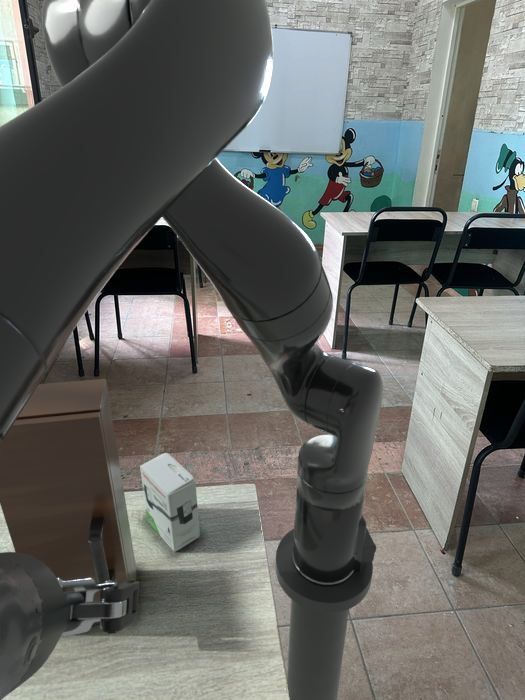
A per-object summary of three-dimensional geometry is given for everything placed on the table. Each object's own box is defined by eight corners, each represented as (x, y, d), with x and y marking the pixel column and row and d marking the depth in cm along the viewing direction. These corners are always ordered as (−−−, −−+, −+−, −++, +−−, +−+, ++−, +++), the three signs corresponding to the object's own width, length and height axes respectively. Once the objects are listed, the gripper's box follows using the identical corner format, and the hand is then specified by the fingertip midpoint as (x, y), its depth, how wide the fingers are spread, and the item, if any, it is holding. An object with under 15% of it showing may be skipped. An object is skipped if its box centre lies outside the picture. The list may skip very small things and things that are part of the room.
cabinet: (134, 610, 64) (100, 409, 50) (43, 625, 62) (-20, 420, 48) (136, 569, 70) (106, 378, 55) (53, 582, 68) (-1, 387, 53)
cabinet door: (132, 646, 60) (94, 438, 45) (34, 663, 58) (-38, 452, 43) (134, 611, 64) (99, 411, 50) (42, 626, 62) (-21, 423, 48)
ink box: (145, 521, 78) (137, 463, 73) (171, 506, 81) (165, 449, 76) (174, 554, 72) (168, 494, 67) (201, 537, 75) (197, 478, 70)
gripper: (111, 548, 27) (149, 544, 42) (-164, 560, 25) (-23, 551, 40) (100, 710, 24) (145, 643, 39) (-209, 733, 23) (-39, 654, 38)
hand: (60, 596), depth 40 cm, fingers open, 8 cm apart
